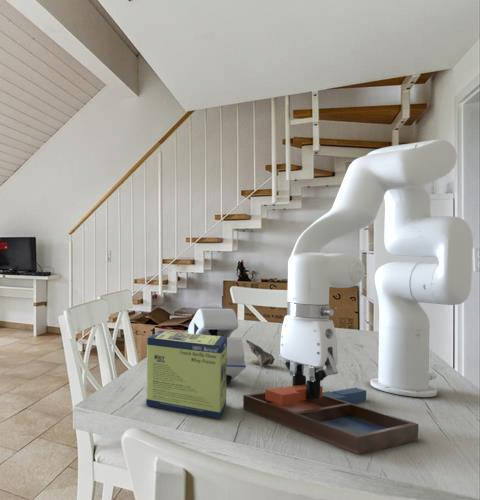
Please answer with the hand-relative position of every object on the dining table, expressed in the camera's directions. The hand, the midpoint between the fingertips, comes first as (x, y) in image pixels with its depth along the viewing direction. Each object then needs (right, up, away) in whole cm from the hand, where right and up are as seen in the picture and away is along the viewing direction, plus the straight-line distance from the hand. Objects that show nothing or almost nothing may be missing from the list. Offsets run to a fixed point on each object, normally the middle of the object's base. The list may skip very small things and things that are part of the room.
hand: (305, 395), depth 103 cm
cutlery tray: (-1, -4, -6) cm, 7 cm away
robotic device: (-9, -3, +25) cm, 26 cm away
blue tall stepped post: (+12, -3, +6) cm, 14 cm away
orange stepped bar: (-3, 0, -1) cm, 3 cm away
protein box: (-24, -4, +4) cm, 25 cm away
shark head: (+11, -3, +39) cm, 40 cm away
